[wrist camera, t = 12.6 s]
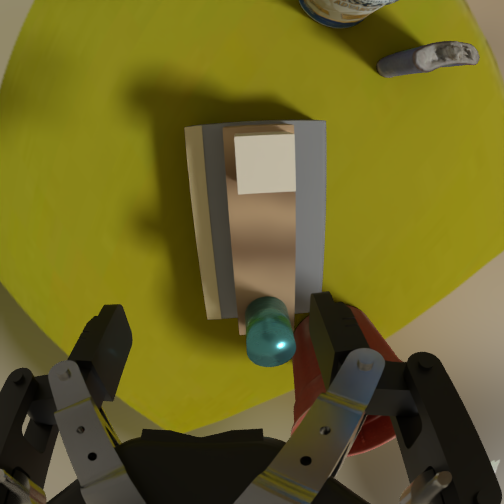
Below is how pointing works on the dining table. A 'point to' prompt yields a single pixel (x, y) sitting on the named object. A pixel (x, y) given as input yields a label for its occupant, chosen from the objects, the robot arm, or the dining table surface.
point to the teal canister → (269, 332)
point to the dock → (217, 214)
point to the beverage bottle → (341, 11)
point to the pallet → (260, 234)
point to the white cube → (265, 162)
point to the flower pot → (312, 385)
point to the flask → (428, 58)
